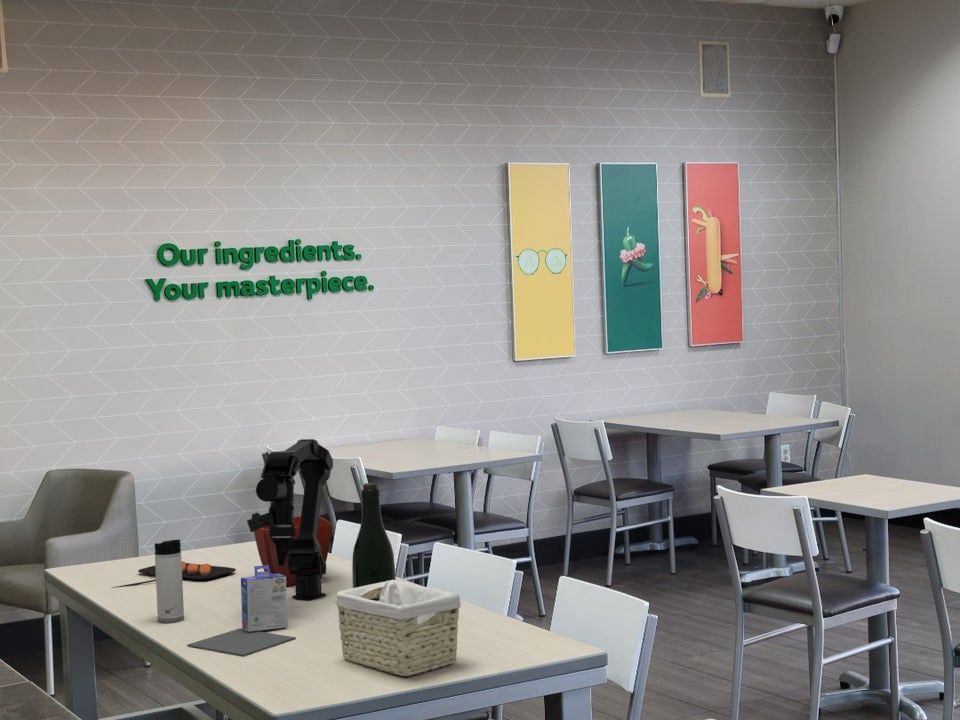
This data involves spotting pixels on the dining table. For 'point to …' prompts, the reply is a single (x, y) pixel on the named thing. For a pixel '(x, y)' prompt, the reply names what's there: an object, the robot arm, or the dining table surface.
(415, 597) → the storage basket
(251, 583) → the ink cartridge box
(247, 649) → the mat
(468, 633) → the dining table surface
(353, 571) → the green wine bottle
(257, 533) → the plant pot
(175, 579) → the travel mug
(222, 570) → the sushi plate
